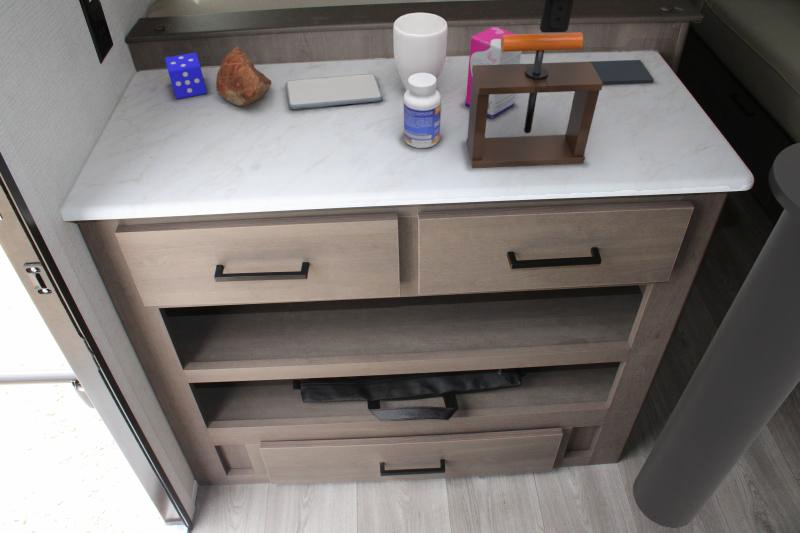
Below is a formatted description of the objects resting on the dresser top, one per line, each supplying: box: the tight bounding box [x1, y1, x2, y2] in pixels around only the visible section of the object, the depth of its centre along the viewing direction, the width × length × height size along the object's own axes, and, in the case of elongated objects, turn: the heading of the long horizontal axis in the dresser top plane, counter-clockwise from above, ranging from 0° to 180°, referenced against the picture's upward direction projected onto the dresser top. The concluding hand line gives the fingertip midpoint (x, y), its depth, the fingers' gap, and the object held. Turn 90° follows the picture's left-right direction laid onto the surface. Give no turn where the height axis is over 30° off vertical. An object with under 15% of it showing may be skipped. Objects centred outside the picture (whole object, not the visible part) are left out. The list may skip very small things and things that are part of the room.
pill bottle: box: [402, 73, 442, 149], centre depth 91 cm, size 5×5×10 cm
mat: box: [590, 59, 655, 85], centre depth 108 cm, size 16×7×1 cm, turn 93°
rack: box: [465, 61, 604, 169], centre depth 87 cm, size 16×6×12 cm, turn 93°
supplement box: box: [464, 25, 523, 119], centre depth 97 cm, size 6×6×12 cm
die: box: [164, 52, 208, 100], centre depth 103 cm, size 5×5×5 cm
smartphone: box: [285, 73, 383, 110], centre depth 103 cm, size 8×1×15 cm
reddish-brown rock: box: [215, 45, 272, 107], centre depth 101 cm, size 13×8×10 cm
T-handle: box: [501, 31, 584, 135], centre depth 84 cm, size 10×3×14 cm, turn 93°
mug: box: [392, 12, 448, 92], centre depth 102 cm, size 12×8×11 cm
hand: (544, 13), depth 77 cm, fingers open, 9 cm apart
